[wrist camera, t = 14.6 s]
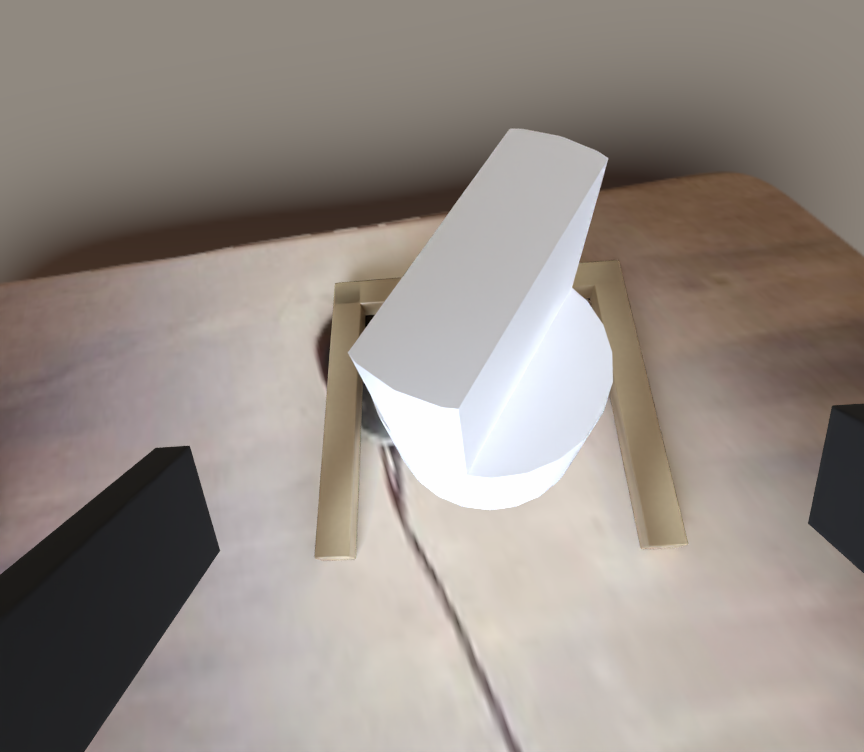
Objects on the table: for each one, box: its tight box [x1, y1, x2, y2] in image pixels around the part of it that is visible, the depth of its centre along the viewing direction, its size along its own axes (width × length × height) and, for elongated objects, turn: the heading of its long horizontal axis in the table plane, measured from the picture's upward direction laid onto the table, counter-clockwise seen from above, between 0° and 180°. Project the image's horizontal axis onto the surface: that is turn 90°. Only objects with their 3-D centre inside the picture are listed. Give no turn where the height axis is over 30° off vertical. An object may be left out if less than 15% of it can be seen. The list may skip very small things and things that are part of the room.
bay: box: [315, 260, 688, 561], centre depth 23 cm, size 15×14×1 cm
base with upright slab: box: [348, 129, 613, 510], centre depth 18 cm, size 9×9×12 cm
